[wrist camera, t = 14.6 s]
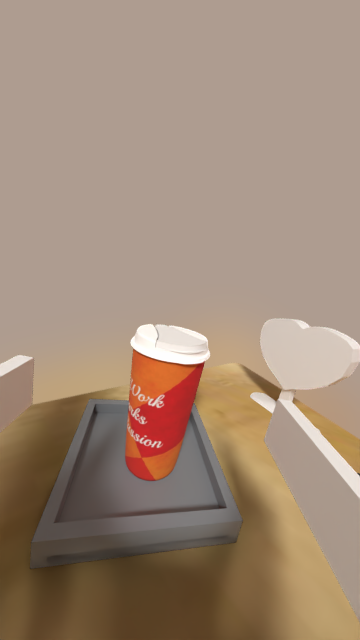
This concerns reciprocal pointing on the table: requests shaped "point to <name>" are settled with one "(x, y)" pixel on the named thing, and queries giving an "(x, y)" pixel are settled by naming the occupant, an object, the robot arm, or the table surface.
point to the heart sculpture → (305, 357)
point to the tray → (132, 497)
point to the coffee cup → (161, 396)
